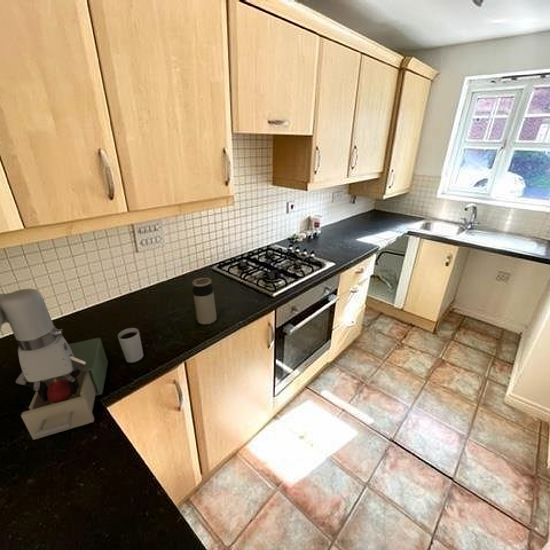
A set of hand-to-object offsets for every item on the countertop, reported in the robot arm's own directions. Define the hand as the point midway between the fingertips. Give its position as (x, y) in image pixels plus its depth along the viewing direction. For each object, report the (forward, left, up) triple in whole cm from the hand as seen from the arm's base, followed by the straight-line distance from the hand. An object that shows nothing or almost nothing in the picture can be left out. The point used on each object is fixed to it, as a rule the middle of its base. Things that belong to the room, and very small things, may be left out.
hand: (61, 393), depth 80 cm
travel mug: (+44, +34, -8) cm, 56 cm away
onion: (0, 0, -3) cm, 3 cm away
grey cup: (+16, +20, -8) cm, 27 cm away
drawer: (0, -1, -7) cm, 7 cm away
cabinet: (0, +13, -8) cm, 15 cm away
